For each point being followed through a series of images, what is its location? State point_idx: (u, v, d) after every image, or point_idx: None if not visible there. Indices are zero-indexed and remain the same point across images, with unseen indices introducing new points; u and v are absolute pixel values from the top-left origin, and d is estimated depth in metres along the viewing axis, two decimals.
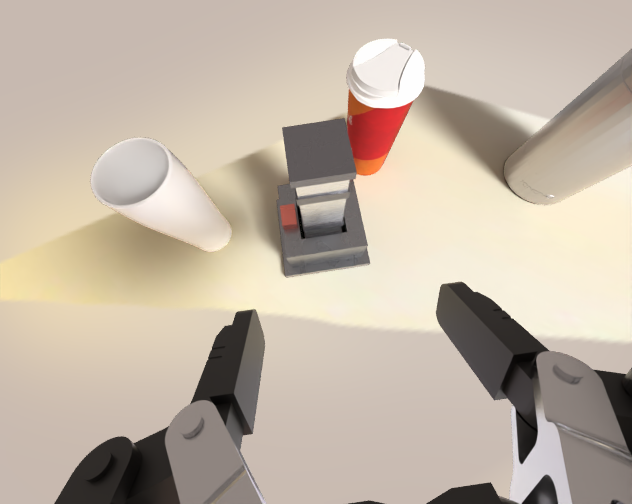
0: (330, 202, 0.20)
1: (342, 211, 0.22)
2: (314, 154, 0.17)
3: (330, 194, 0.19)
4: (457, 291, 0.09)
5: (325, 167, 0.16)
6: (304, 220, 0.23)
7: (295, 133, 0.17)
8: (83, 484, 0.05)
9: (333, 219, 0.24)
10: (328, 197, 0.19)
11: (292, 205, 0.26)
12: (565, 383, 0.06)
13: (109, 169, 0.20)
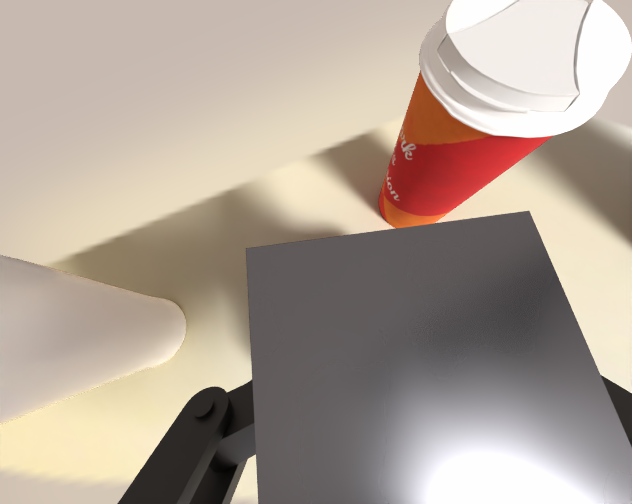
0: None
1: None
2: (410, 426, 0.03)
3: None
4: None
5: None
6: None
7: (309, 281, 0.04)
8: (192, 418, 0.06)
9: None
10: None
11: None
12: None
13: None
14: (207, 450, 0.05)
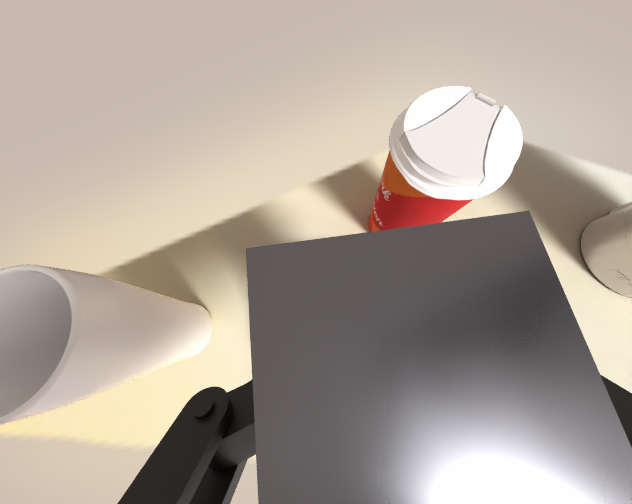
0: None
1: None
2: (410, 428, 0.03)
3: None
4: None
5: None
6: None
7: (309, 281, 0.04)
8: (192, 418, 0.06)
9: None
10: None
11: None
12: None
13: None
14: (207, 450, 0.05)
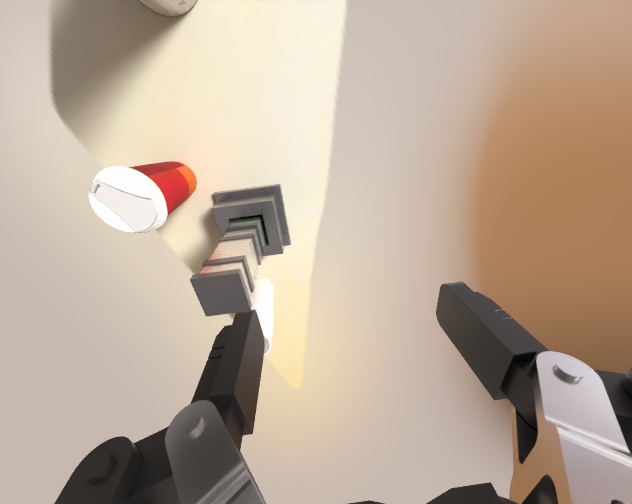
0: (248, 264, 0.27)
1: (249, 246, 0.28)
2: (226, 297, 0.23)
3: (246, 271, 0.25)
4: (457, 291, 0.09)
5: (237, 291, 0.23)
6: (257, 269, 0.31)
7: (209, 308, 0.24)
8: (83, 484, 0.05)
9: (252, 246, 0.30)
10: (248, 270, 0.26)
11: None
12: (565, 383, 0.06)
13: None
14: None
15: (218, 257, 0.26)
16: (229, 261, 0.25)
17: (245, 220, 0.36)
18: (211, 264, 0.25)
